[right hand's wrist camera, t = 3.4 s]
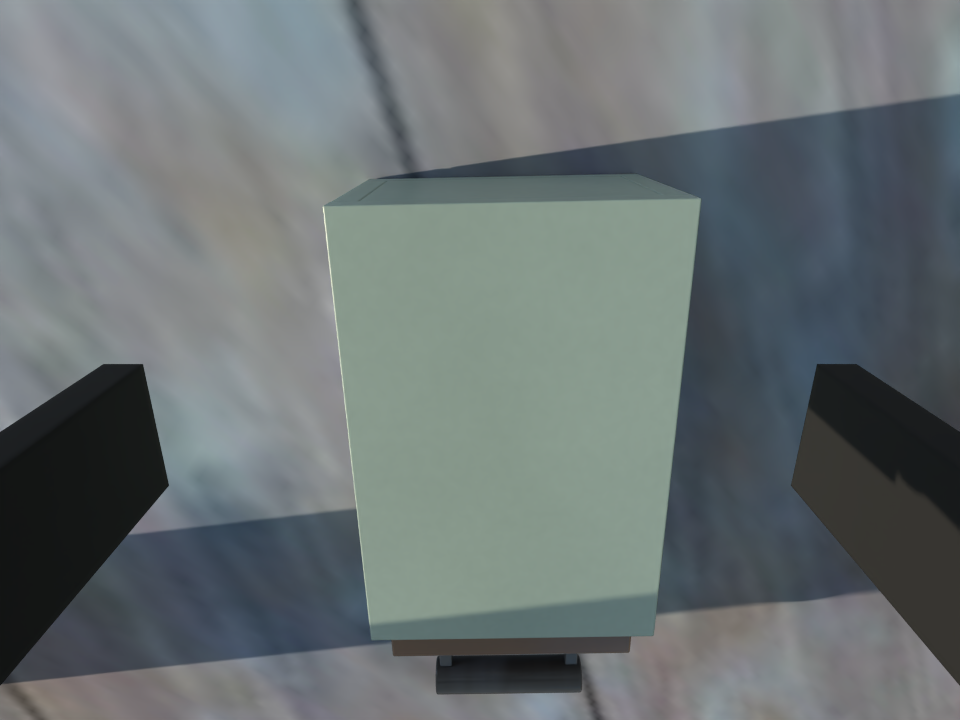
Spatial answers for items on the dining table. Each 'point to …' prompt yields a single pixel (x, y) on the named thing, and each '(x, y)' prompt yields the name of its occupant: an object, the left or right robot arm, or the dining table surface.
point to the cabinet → (512, 397)
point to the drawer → (509, 662)
